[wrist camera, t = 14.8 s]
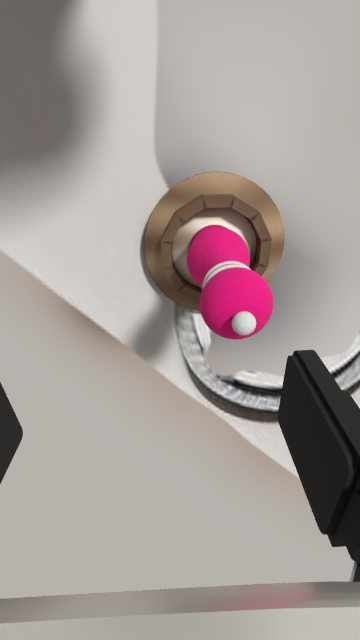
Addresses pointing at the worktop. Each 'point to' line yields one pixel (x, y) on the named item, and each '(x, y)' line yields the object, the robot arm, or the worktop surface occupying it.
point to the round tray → (202, 210)
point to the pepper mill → (228, 283)
